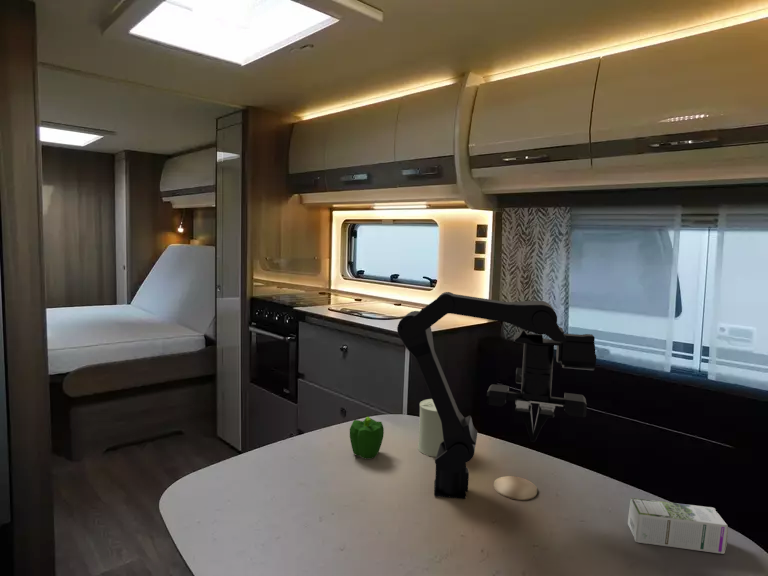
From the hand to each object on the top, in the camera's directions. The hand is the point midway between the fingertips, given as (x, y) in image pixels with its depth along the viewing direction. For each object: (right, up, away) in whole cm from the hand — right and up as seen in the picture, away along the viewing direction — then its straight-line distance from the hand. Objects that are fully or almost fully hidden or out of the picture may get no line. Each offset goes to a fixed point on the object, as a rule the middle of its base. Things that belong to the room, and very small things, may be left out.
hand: (532, 441), depth 101 cm
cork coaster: (-2, -12, +7) cm, 14 cm away
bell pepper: (-34, -10, +21) cm, 42 cm away
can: (-17, -10, +25) cm, 32 cm away
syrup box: (+15, -12, -9) cm, 21 cm away
